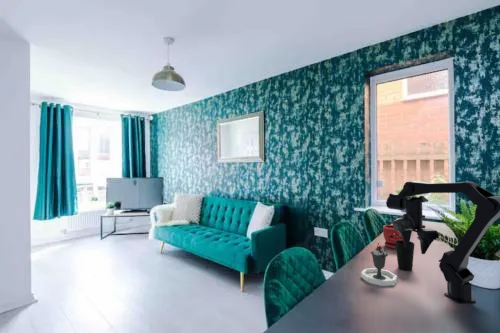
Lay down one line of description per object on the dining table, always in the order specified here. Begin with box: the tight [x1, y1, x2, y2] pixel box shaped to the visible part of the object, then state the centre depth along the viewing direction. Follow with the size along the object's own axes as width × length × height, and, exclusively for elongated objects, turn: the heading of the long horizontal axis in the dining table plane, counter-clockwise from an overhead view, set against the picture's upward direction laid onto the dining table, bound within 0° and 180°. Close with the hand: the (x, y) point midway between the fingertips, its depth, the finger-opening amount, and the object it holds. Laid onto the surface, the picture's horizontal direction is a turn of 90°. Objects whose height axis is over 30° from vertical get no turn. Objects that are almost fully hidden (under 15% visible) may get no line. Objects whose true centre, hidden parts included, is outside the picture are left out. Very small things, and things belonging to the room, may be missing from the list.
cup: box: [395, 240, 415, 272], centre depth 121 cm, size 8×8×12 cm
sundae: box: [370, 242, 389, 280], centre depth 110 cm, size 7×7×15 cm
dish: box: [360, 267, 398, 287], centre depth 110 cm, size 13×13×2 cm
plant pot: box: [382, 224, 403, 250], centre depth 154 cm, size 13×13×12 cm
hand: (414, 250), depth 107 cm, fingers open, 9 cm apart
